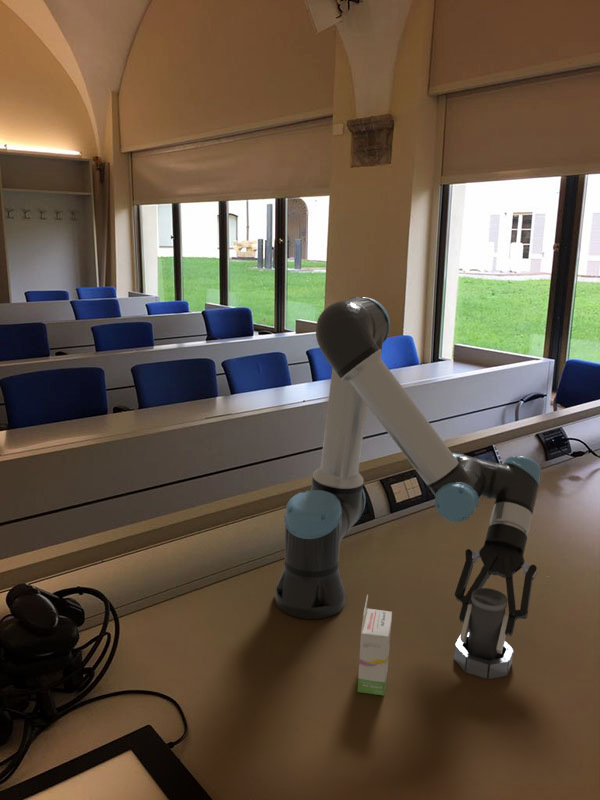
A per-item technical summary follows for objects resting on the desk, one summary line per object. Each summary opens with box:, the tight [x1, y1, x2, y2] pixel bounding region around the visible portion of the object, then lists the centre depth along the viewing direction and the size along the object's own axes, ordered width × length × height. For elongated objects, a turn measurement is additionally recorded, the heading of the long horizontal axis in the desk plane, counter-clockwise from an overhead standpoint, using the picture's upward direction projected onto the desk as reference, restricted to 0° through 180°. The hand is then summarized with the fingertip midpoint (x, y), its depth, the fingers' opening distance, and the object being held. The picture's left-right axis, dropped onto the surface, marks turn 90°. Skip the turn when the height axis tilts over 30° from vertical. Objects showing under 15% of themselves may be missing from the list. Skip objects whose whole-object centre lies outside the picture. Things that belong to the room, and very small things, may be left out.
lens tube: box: [467, 587, 508, 660], centre depth 126 cm, size 6×6×12 cm
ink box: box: [357, 594, 393, 696], centre depth 120 cm, size 9×5×15 cm, turn 168°
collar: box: [453, 632, 514, 680], centre depth 127 cm, size 10×10×3 cm
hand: (480, 645), depth 123 cm, fingers closed on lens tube, 6 cm apart
